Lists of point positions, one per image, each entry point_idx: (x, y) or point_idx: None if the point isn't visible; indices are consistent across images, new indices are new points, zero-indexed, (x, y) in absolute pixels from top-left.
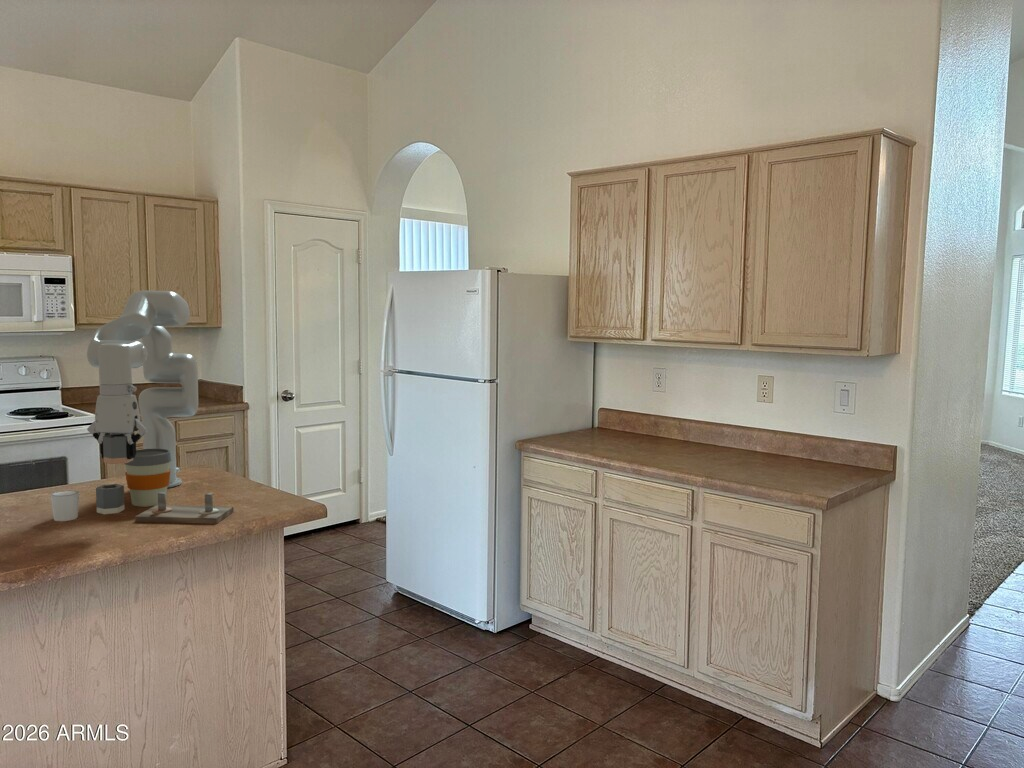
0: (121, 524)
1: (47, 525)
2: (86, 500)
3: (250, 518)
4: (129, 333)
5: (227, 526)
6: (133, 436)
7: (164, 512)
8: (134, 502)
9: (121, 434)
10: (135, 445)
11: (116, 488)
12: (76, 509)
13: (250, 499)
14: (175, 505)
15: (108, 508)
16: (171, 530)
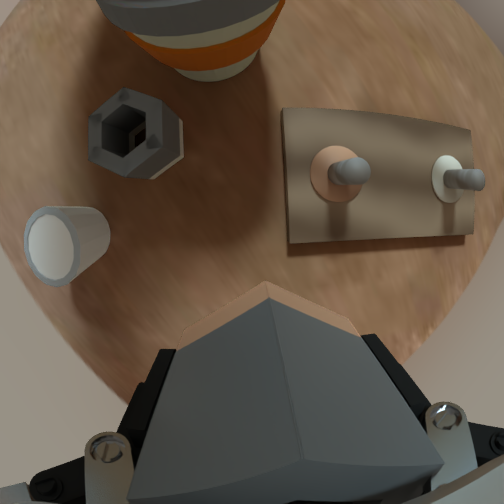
0: (262, 268)
1: (93, 297)
2: (52, 78)
3: (498, 186)
4: None
5: (482, 248)
6: (448, 461)
7: (354, 195)
8: (187, 75)
9: (291, 493)
10: (425, 405)
11: (160, 148)
12: (100, 235)
13: (438, 30)
14: (343, 110)
15: (158, 171)
16: (402, 295)
